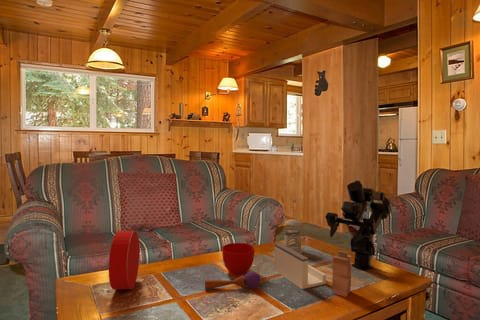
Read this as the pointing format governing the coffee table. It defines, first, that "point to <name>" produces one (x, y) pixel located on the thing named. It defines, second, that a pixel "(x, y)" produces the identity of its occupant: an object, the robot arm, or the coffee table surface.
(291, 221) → the french press
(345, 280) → the block
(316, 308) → the coffee table surface
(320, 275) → the cleat board
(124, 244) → the toy clock
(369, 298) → the coffee table surface
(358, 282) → the coffee table surface
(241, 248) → the ceramic cup
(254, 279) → the kendama
